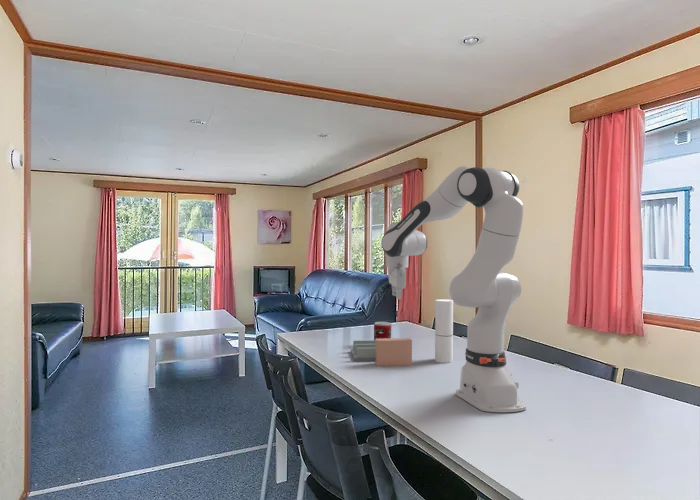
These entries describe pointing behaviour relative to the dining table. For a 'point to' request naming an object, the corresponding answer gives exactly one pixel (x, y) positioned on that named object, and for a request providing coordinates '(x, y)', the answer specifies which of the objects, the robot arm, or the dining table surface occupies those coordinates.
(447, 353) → the cylindrical container
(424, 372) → the dining table surface
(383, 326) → the canned food
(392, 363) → the terracotta tile
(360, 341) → the slotted rail base
